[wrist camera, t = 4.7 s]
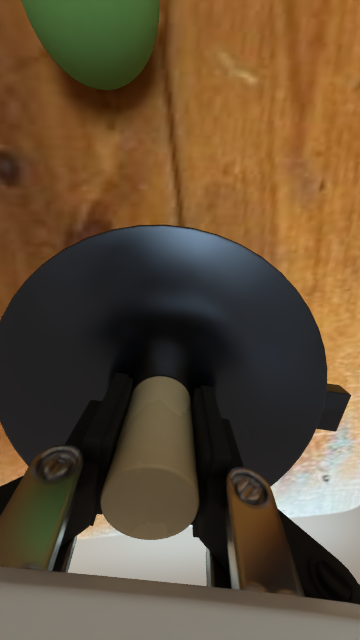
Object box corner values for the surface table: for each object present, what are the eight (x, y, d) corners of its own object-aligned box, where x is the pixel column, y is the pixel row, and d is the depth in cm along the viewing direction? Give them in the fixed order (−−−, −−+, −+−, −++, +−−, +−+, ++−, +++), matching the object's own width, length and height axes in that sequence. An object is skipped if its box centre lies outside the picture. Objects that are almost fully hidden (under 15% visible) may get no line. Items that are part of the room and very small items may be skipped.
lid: (3, 195, 10) (-237, 119, 4) (360, 262, 11) (568, 274, 5) (10, 484, 14) (-105, 646, 8) (267, 515, 15) (322, 679, 9)
